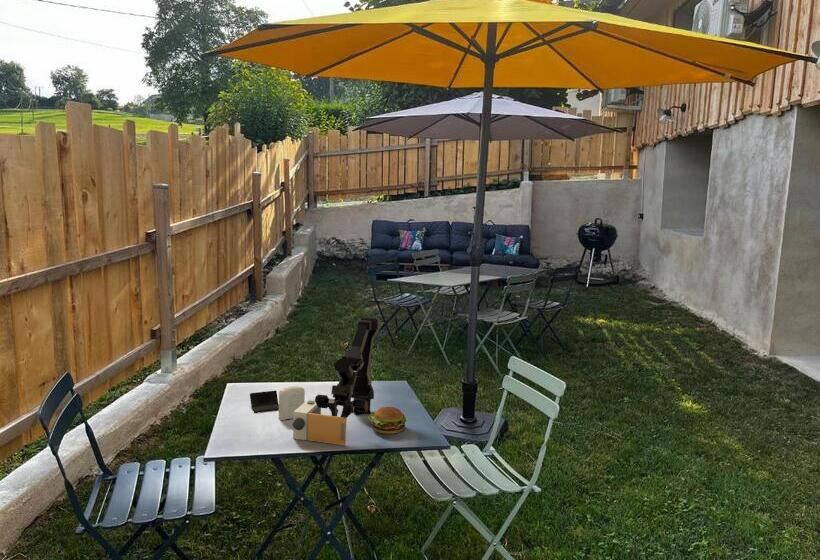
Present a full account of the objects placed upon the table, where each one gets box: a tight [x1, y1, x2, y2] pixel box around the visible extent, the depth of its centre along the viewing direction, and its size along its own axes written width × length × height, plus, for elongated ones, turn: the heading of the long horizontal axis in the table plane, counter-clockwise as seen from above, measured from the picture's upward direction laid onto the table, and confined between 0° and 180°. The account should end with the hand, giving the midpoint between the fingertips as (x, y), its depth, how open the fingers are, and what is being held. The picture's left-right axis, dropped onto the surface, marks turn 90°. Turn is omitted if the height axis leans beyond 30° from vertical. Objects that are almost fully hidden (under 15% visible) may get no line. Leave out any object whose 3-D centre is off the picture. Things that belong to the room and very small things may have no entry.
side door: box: [306, 413, 348, 446], centre depth 218 cm, size 14×1×10 cm, turn 77°
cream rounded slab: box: [278, 385, 306, 421], centre depth 240 cm, size 10×4×12 cm, turn 123°
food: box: [367, 406, 407, 435], centre depth 233 cm, size 14×14×8 cm
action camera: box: [292, 398, 322, 441], centre depth 226 cm, size 16×5×11 cm, turn 167°
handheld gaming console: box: [249, 390, 279, 414], centre depth 250 cm, size 12×7×10 cm
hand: (336, 425), depth 217 cm, fingers closed, pressing on side door
